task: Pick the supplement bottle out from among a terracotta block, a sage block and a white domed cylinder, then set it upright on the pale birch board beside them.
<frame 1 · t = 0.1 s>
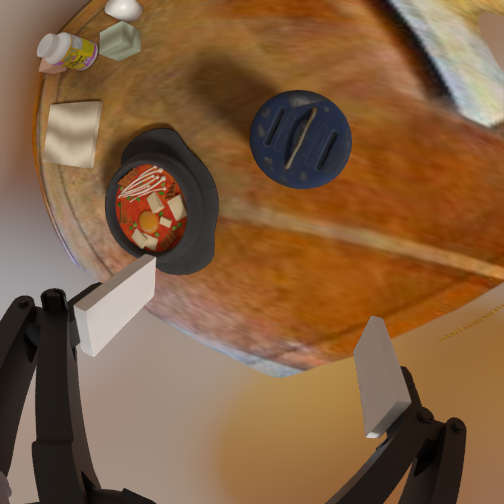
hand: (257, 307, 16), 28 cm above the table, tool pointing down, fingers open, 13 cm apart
white domed cylinder: (132, 13, 33), on the table
sage block: (129, 45, 36), on the table
supplement bottle: (88, 56, 37), on the table
birch board: (71, 133, 43), on the table
terracotta block: (62, 62, 38), on the table
canister: (301, 146, 38), on the table
casserole: (169, 201, 45), on the table
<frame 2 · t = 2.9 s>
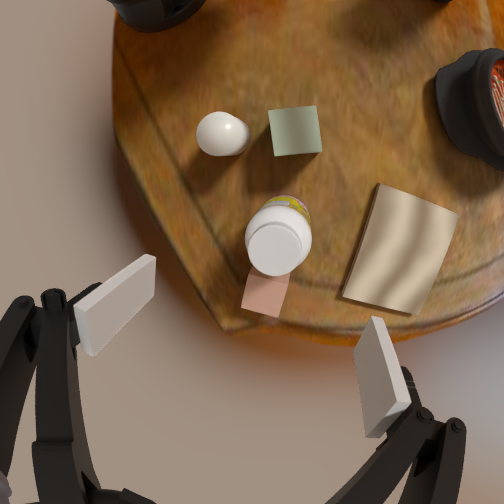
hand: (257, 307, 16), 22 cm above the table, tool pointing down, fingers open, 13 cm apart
white domed cylinder: (231, 136, 33), on the table
sage block: (296, 134, 32), on the table
supplement bottle: (284, 219, 36), on the table
birch board: (401, 253, 34), on the table
terracotta block: (268, 279, 39), on the table
casserole: (492, 110, 24), on the table
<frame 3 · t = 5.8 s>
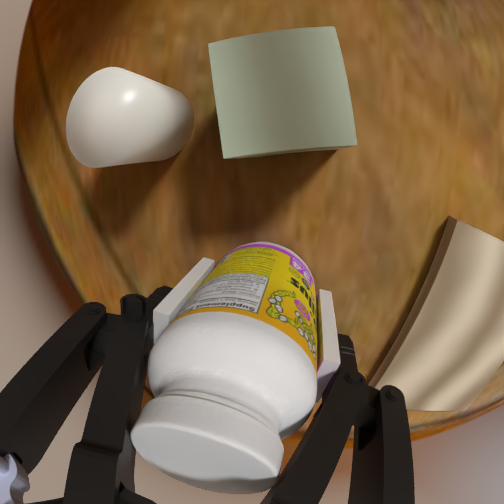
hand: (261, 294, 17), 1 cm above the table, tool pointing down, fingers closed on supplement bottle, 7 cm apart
white domed cylinder: (158, 123, 16), on the table
sage block: (289, 111, 14), on the table
supplement bottle: (264, 285, 18), on the table, touching gripper
birch board: (464, 334, 16), on the table
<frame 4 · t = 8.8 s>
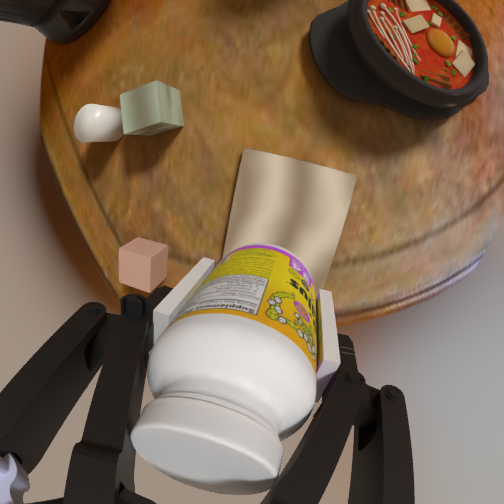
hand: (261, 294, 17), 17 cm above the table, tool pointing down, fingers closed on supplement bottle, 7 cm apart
white domed cylinder: (114, 124, 32), on the table
sage block: (164, 113, 31), on the table
supplement bottle: (264, 286, 18), point 16 cm above the table, touching gripper
birch board: (285, 225, 33), on the table
terracotta block: (152, 257, 38), on the table
casserole: (406, 53, 23), on the table
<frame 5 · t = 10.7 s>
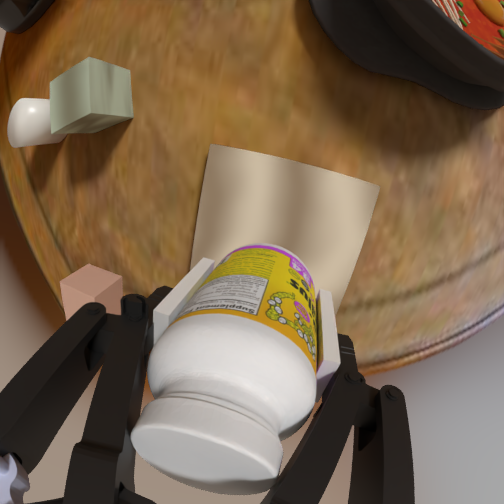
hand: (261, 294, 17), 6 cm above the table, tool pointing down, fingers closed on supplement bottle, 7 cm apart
white domed cylinder: (58, 121, 22), on the table
sage block: (111, 101, 21), on the table
supplement bottle: (264, 286, 18), point 5 cm above the table, touching gripper
birch board: (272, 257, 23), on the table
terracotta block: (105, 289, 28), on the table
casserole: (438, 20, 13), on the table
when the fingers open (4 cm above the table, at t = 12.1 s): supplement bottle drops 1 cm, resting on birch board.
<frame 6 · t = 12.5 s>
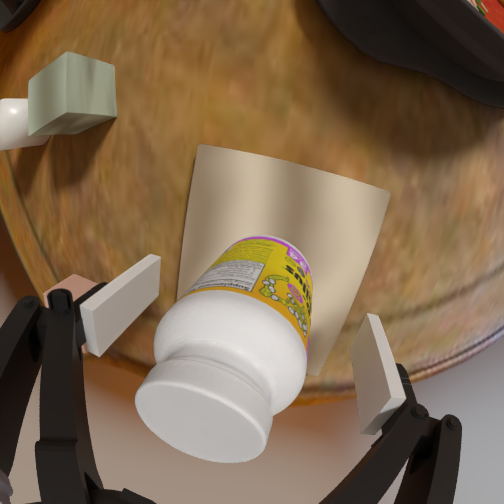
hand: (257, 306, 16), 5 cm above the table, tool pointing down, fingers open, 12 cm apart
white domed cylinder: (42, 122, 20), on the table
sage block: (94, 100, 18), on the table
supplement bottle: (266, 276, 20), point 1 cm above the table, touching birch board
birch board: (269, 270, 21), on the table
terracotta block: (92, 300, 26), on the table
casserole: (450, 11, 11), on the table
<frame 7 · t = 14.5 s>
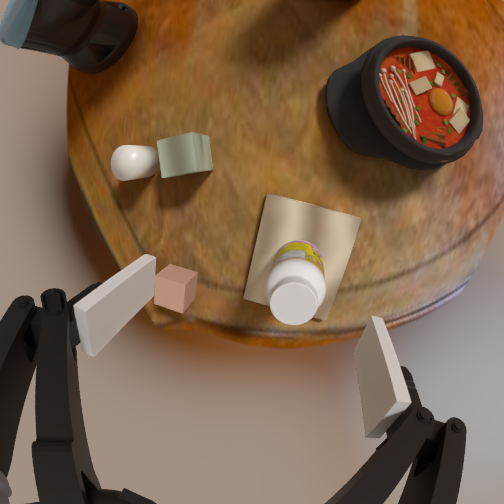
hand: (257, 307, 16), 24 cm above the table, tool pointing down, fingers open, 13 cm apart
white domed cylinder: (146, 161, 39), on the table
sage block: (194, 155, 38), on the table
supplement bottle: (299, 261, 38), point 1 cm above the table, touching birch board
birch board: (299, 259, 39), on the table
terracotta block: (182, 281, 44), on the table
casserole: (409, 105, 30), on the table
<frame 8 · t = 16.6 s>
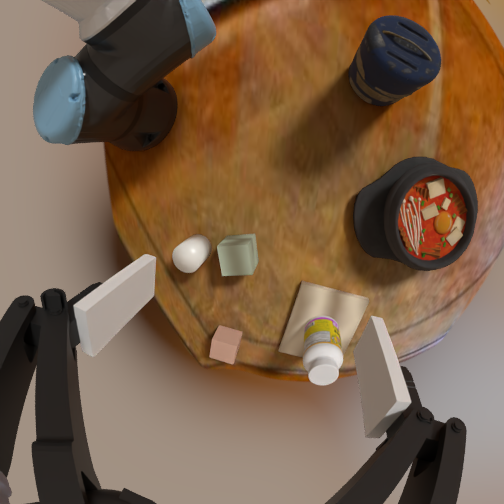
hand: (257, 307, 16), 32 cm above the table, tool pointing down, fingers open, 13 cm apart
white domed cylinder: (198, 247, 50), on the table
sage block: (242, 248, 49), on the table
supplement bottle: (321, 327, 50), point 1 cm above the table, touching birch board
birch board: (321, 325, 51), on the table
terracotta block: (229, 337, 56), on the table
canister: (374, 81, 35), on the table
casserole: (418, 210, 41), on the table
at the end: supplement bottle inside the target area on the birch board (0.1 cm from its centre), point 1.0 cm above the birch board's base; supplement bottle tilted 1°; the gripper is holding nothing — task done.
